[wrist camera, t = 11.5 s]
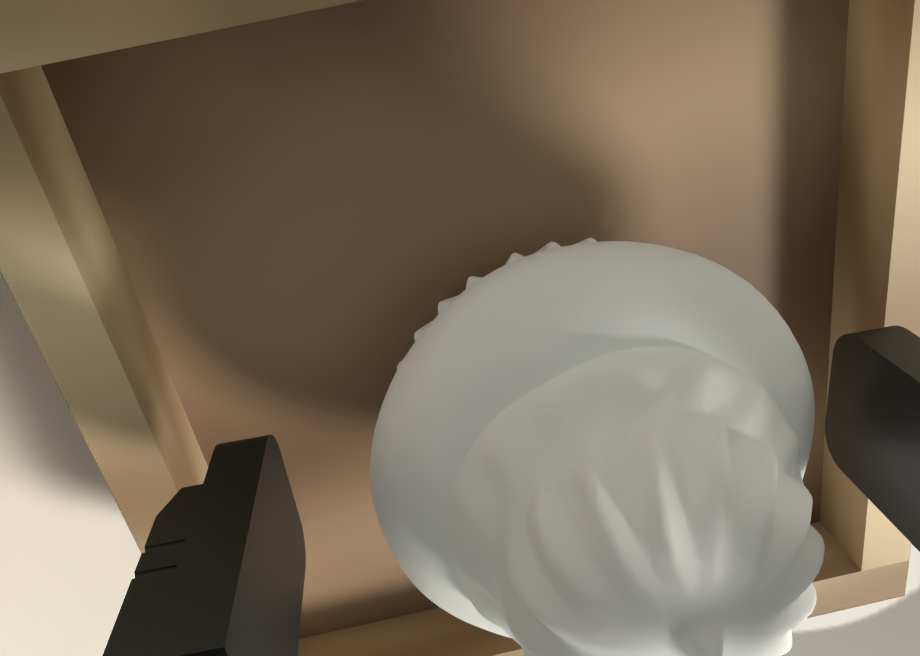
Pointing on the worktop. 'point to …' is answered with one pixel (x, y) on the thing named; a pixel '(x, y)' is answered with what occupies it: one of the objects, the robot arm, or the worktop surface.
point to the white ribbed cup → (605, 457)
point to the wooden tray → (428, 224)
